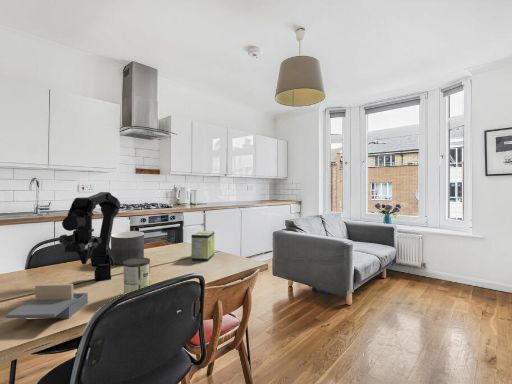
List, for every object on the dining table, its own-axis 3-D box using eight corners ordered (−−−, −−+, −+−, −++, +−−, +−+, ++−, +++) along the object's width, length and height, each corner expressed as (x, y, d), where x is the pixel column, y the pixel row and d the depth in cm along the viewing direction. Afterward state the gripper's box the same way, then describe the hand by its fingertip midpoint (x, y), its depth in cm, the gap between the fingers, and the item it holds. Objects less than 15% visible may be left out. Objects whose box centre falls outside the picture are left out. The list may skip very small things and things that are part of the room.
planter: (139, 265, 157) (139, 237, 155) (106, 265, 154) (105, 237, 153) (147, 255, 174) (147, 231, 173) (117, 256, 171) (117, 231, 170)
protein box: (214, 254, 180) (214, 231, 180) (207, 261, 165) (208, 235, 164) (199, 254, 181) (199, 230, 181) (191, 260, 166) (191, 235, 166)
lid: (34, 301, 98) (34, 284, 97) (76, 300, 99) (76, 283, 99) (5, 318, 85) (4, 299, 85) (54, 317, 86) (54, 298, 86)
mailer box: (49, 304, 105) (49, 293, 105) (87, 303, 106) (87, 292, 106) (25, 319, 93) (25, 307, 93) (69, 318, 94) (68, 306, 94)
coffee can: (129, 289, 120) (129, 257, 120) (153, 289, 121) (153, 257, 120) (118, 299, 110) (118, 264, 110) (144, 299, 110) (144, 264, 110)
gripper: (76, 224, 125) (76, 258, 125) (49, 230, 106) (49, 271, 106) (101, 224, 126) (101, 258, 126) (79, 230, 107) (79, 270, 107)
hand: (84, 264), depth 116 cm, fingers closed
